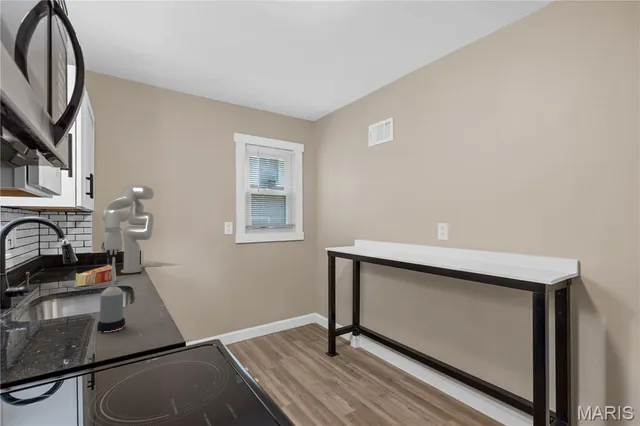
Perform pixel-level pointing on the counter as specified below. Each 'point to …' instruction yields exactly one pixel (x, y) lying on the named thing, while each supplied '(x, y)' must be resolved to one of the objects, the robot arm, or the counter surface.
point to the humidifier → (111, 306)
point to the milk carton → (95, 276)
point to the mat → (87, 285)
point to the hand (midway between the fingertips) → (111, 261)
